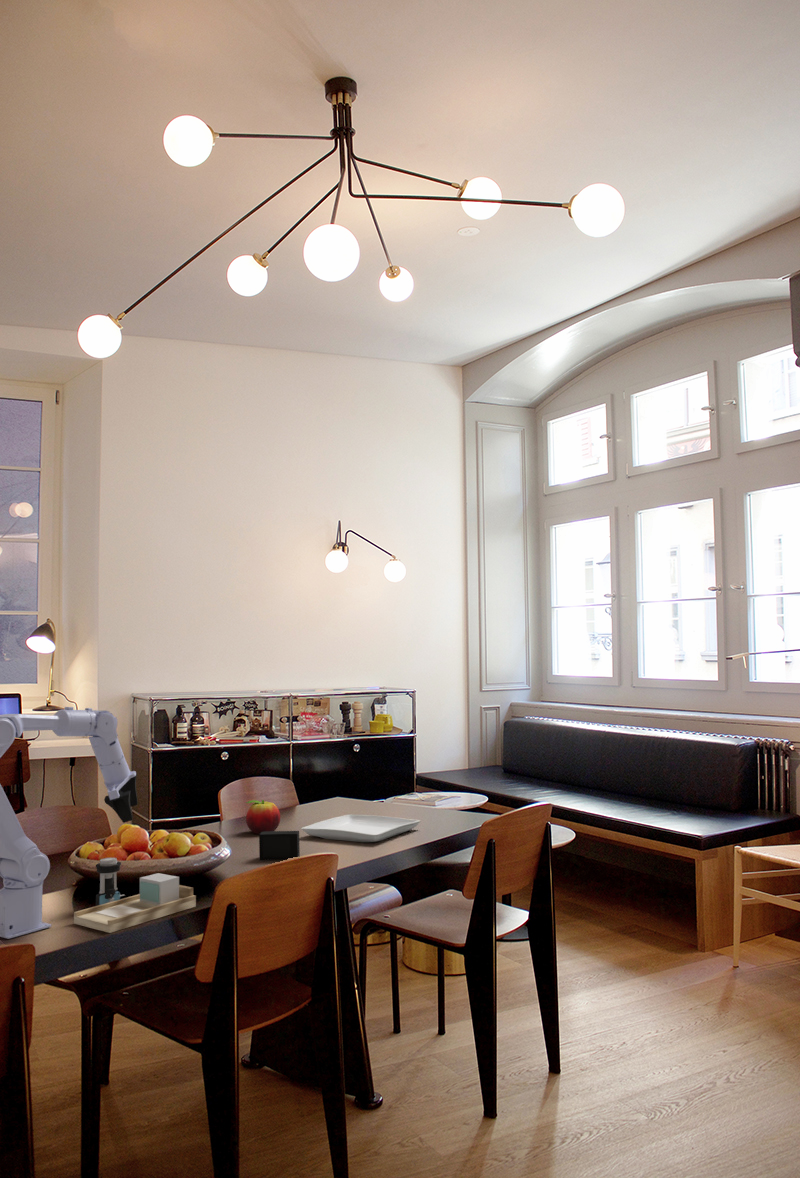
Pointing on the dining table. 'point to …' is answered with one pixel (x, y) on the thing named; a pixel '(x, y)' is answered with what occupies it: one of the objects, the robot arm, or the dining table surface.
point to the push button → (108, 881)
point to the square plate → (360, 827)
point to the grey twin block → (159, 889)
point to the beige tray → (131, 911)
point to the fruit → (262, 816)
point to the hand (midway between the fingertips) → (130, 813)
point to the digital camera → (278, 845)
